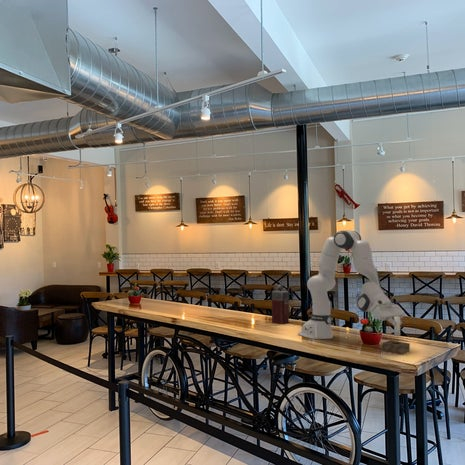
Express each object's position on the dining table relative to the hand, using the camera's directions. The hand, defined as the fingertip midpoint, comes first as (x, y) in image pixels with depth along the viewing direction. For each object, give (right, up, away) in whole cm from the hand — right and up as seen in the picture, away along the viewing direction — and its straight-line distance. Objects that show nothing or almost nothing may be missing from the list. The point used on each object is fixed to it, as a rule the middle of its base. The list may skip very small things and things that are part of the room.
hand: (397, 324), depth 245 cm
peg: (0, -6, 0) cm, 6 cm away
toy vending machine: (-54, -16, +84) cm, 101 cm away
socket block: (-1, -15, +1) cm, 15 cm away
